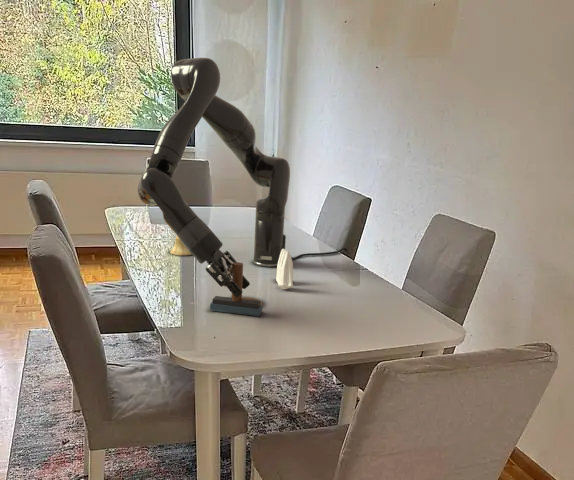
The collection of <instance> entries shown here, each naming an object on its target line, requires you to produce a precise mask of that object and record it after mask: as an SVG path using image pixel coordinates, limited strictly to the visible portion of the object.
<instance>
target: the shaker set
mask: <svg viewBox="0 0 574 480" xmlns="http://www.w3.org/2000/svg"><path fill="white" fill-rule="evenodd" d="M291 257H292V255H291V252H290V251H289V250H287V249H286V248H285V249H282V251H281V253H280V257H279V260H278V264H277V266H276V278H275V280H276V282H277V286H278V287H279V288H280V289H282V290H288V289H291V288H292V287H293V286H294V280H293V279H294V263H293V260H292V258H291Z"/></svg>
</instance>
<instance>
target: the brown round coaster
mask: <svg viewBox="0 0 574 480" xmlns="http://www.w3.org/2000/svg"><path fill="white" fill-rule="evenodd" d="M242 299H247V300H256V301H260V300H259V299H256V298H252V297H243V296H242ZM261 305H263V302H262V301H261ZM263 306H264V305H263Z"/></svg>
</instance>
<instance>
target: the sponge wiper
mask: <svg viewBox="0 0 574 480" xmlns="http://www.w3.org/2000/svg"><path fill="white" fill-rule="evenodd" d="M243 276H244V263H243V262H238V261H237V262H235V263H233V270H232V276H231V278H232V280H233V281H234V282H235V283H236V284H237V285H238V286H239V288H240V289H241V290H242V291H243V288H242V282H243ZM233 281H232V282H233ZM242 297H243V293H242V294H241V295H240V296H238V297H235V296H234V295H233V294H232V293H231V297H229V296H221V295H220V296H219V295H215V296H214V297H213V298H212V299H211V300H212V301H211V303H210V304H209V310H210V311H212V312H216V313H217V312H218V313H225V314H226V313H228V314H233V315H234V314H235V315H241V316H243V315H245V316H252V317H260V316H261V315H262V313H263V308H264V305H261V302H262V300H259V301H256V300H247V299H242Z"/></svg>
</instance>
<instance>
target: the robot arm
mask: <svg viewBox="0 0 574 480" xmlns="http://www.w3.org/2000/svg"><path fill="white" fill-rule="evenodd" d="M170 80H171V83H172V86H173V88H174V90H175V91H176V93H177V94H178V95H179V97H181V99H182V100H183V101H184V102H183V104H182V105H181V106H180V108H179V109H178V110H177V111H175V113H174V114H173V115H172V116H171V117H170V118H169V119H168V120H167V121H166V123H165V124H164V125H163V127H161V130H160V132H159V134H158V136H157V138H156V141H155V144H154V146H153V148H152V150H151V155H150V158H149V161H148V163H147V165H146V168H145V170H144V172H143V174H142V175H141V177H140V180H139V181H138V185H137V194H138V195H137V196H138V197H139V200H140V201H141V202H142V203H144V204H145V205H147V206H151V207H153V206H158V208H159V209H160V210H161V213H162V218H163V220H164V222H165V224H166V225H167V226H168V228H169V229H171V231H172V232H173V233H174V234H175V235H176V236H178V238H179V239H180V241H181V242H182V243H183V244H184V246H185V247H186V248H187V249H188V250H189V251H190V252H191V254H192V255H191V256H193V257H194V258H195V259H196V261H197V262H198V263H199V264H204V263H205V262H206V263H207V265H208V266H206V267H205V268H204V270H205V271H206V272H207V274H209V275H210V277H211V278H212V279H213V280H214V282H216V283H217V285H219V286H220V287H221V288H222V287H224V288H227V289H228V290H229V291H230V293H231V295H232V294H233V295H234V296H235V297H238V296H240V295H241V294H242V295H243V292H244V291H243V290H246V289H247V288H248V287H249V286H250V284H251V283H250V281H249V280H248V278H247V277H245V276H244V275H243V282H242V290H241V289H240V288H239V286H238V285H237V284H236V283H235V282H234V281H233V280H232V270H233V263H235V262H238V261H237V260H236V259H235V257H234V256H233V255H232V254H231V253H230V252H229V251H228V250H225V251H224V252H222V250H220V249H221V248H222V247H223V242H222V241H221V240H220V239H219V237H218V235H216V234H215V233H214V232H213V230H212V229H211V228H210V227H209V226H208V225H207V223H205V221H203V220H202V219H201V218H200V217H199V216H198V214H196V213H195V211H194V210H193V209H192V207H191V206H190V205H188V203H187V202H186V201H185V199H184V197H183V195H182V194H181V191H180V190H179V189H178V187H177V186H176V184H175V182H174V181H173V177H174V174H175V172H176V171H177V169H178V167H179V166H180V163H181V160H182V158H183V156H184V153H185V151H186V148H187V146H188V143H189V141H190V139H191V137H192V135H193V133H194V131H195V129H196V127H198V124H199V122H200V121H201V119H203V120H204V121H205V122H206V123H207V124H208V126H209V127H210V128H212V130H213V131H214V132H215V133H216V135H217V136H218V137H219V138H220V139H221V141H222V142H223V143H224V145H225V146H226V147H228V149H229V150H230V151H231V152H232V153H233V154H234V155H235V157H236V158H237V159H238V161H240V163H241V164H242V165H243V167H244V168H245V170H246V172H247V173H248V175H249V177H250V178H251V179H252V181H253V182H254V183H255V184H256V185H258V186H259V187H262V188H268V189H269V191H268V195H267V196H265V197H263V198H262V197H261V198H259V199H257V200H256V202H255V217H254V218H255V220H254V221H255V222H254V241H253V242H254V244H253V261H252V262H253V264H254V265H256V266H260V267H266V268H267V267H268V268H273V267H277V264H278V260H279V257H280V253H281V251H282V249H285V250H286V241H287V240H286V239H287V236H286V234H284V229H285V214H286V213H285V211H286V205H287V202H288V198H289V196H288V195H289V187H290V181H291V180H290V179H291V167H290V164H289V161H288V160H287V159H286V158H282V157H277V156H270V155H266V154H264V153H263V152H262V151H261V150H260V149H259V148H258V146H257V145H256V141H257V140H256V139H257V133H256V129H255V128H254V126H253V124H252V122H251V121H250V119H248V117H247V116H246V115H245V113H243V111H242V110H241V109H239V108H238V107H236V105H234V104H232V103H231V102H229V101H227V100H225V99H223V98H221V97H219V96H218V95H216V94H217V93H218V90H219V88H220V85H221V73H220V69H219V66H218V64H217V63H216V62H215V60H213V59H212V58H210V57H194V58H192V57H191V58H183V59H180V60H177V61H176V62H175V63H174V64H173V65H172V66H171V69H170ZM342 251H345V252H349V251H348V249H347V248H346V247H341V248H340V249H338V250H334V251H327V252H326V251H325V252H310V253H301V254H299V255H296V256H295V257H292V256H291V258H292V261H293V260H297V259H299V258H301V257H307V256H325V255H334V254H339V253H341V252H342ZM232 281H233V282H232Z"/></svg>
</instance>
